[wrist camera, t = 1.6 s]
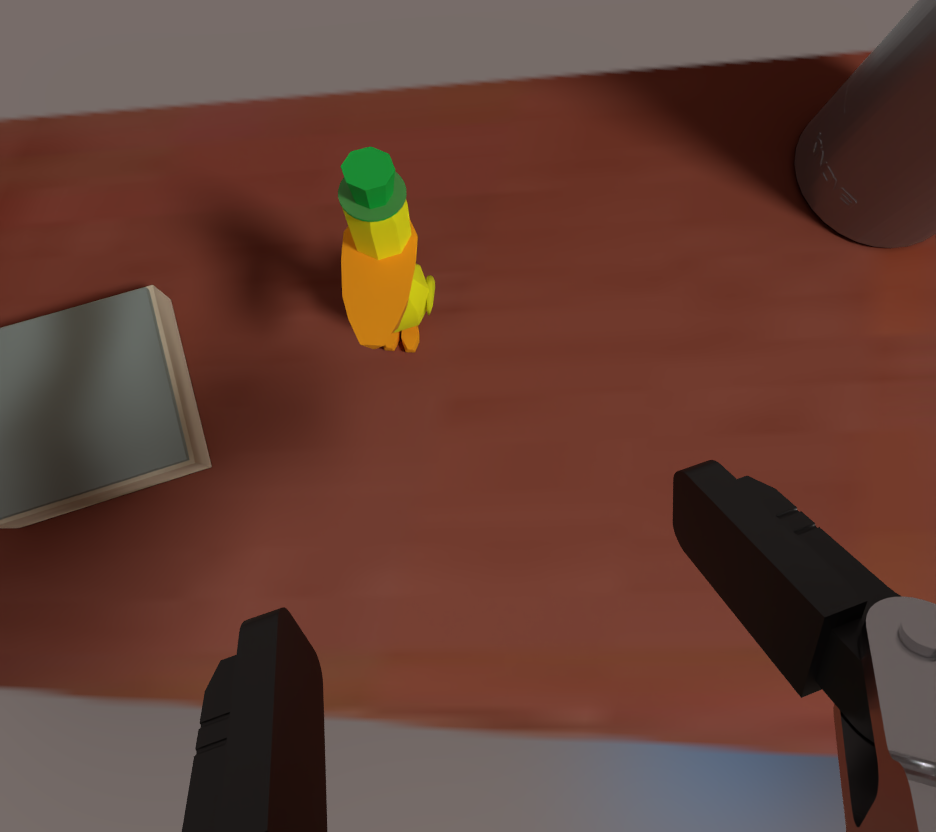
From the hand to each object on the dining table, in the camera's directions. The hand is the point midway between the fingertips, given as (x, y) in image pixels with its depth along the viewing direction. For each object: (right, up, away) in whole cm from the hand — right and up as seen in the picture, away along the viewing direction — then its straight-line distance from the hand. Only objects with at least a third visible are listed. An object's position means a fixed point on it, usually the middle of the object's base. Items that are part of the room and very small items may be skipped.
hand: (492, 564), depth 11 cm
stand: (-18, +3, +15) cm, 24 cm away
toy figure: (-4, +7, +17) cm, 19 cm away
